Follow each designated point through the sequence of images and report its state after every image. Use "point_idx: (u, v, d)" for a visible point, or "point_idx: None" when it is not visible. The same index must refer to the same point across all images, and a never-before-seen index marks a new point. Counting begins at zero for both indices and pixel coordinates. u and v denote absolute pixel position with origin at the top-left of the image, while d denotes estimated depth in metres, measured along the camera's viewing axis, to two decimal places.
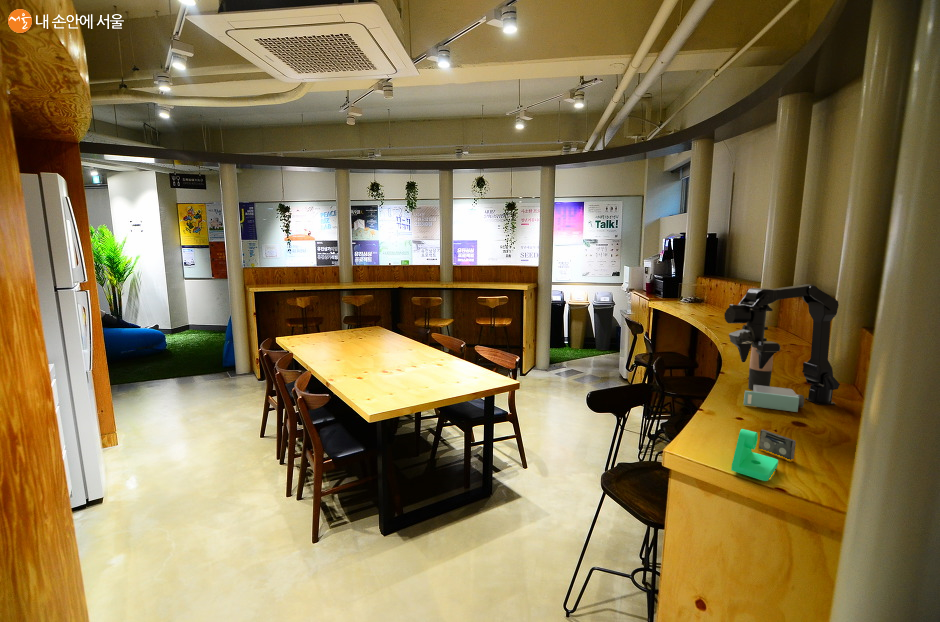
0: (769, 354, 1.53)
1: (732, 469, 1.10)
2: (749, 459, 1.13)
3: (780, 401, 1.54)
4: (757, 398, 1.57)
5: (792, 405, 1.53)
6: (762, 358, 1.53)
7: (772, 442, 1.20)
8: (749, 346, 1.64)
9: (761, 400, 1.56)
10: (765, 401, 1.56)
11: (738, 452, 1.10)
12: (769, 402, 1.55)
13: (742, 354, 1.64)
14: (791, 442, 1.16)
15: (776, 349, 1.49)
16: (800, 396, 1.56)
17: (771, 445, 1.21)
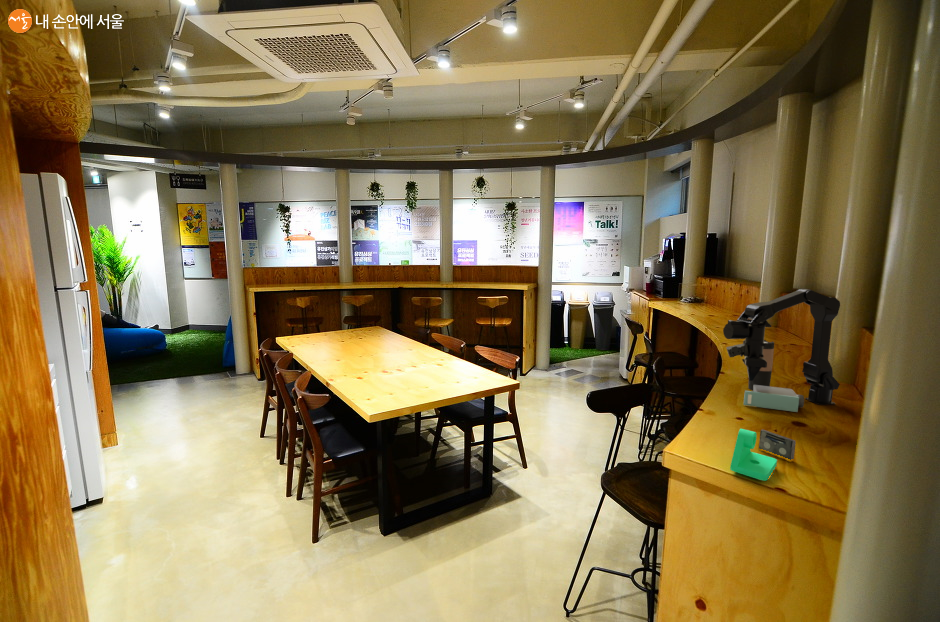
0: (757, 367, 1.58)
1: (731, 469, 1.10)
2: (748, 458, 1.13)
3: (780, 401, 1.54)
4: (757, 398, 1.57)
5: (792, 405, 1.53)
6: (750, 370, 1.60)
7: (772, 442, 1.20)
8: None
9: (761, 400, 1.56)
10: (765, 401, 1.56)
11: (737, 451, 1.10)
12: (769, 402, 1.55)
13: None
14: (791, 442, 1.16)
15: (761, 365, 1.51)
16: (800, 396, 1.56)
17: (771, 445, 1.21)
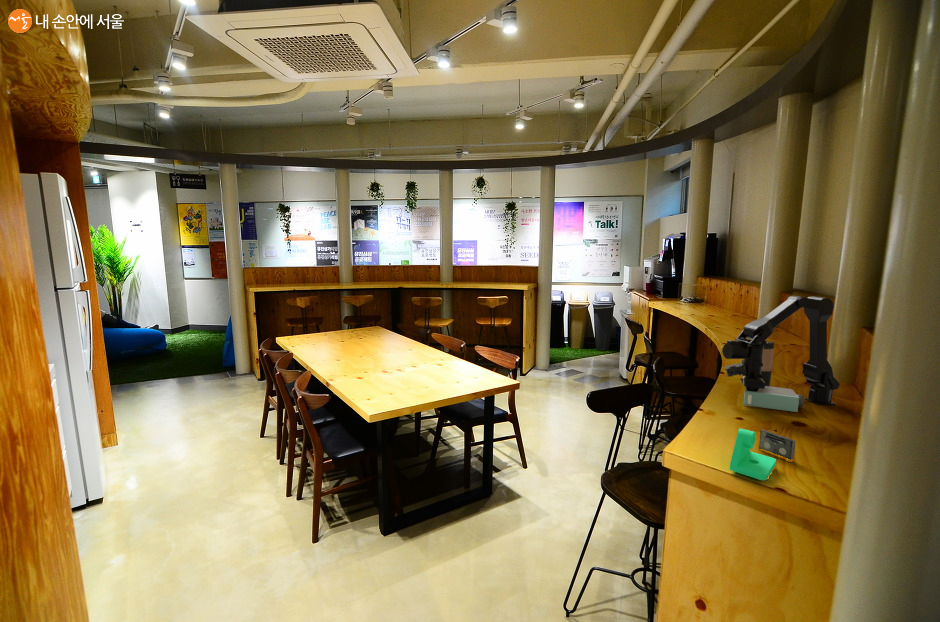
0: None
1: (730, 468, 1.10)
2: (747, 458, 1.13)
3: (780, 401, 1.54)
4: (757, 398, 1.57)
5: (792, 405, 1.53)
6: (748, 390, 1.59)
7: (772, 442, 1.20)
8: None
9: (761, 400, 1.56)
10: (765, 401, 1.56)
11: (736, 451, 1.11)
12: (769, 402, 1.55)
13: None
14: (791, 442, 1.16)
15: (759, 386, 1.51)
16: (800, 396, 1.56)
17: (771, 445, 1.21)
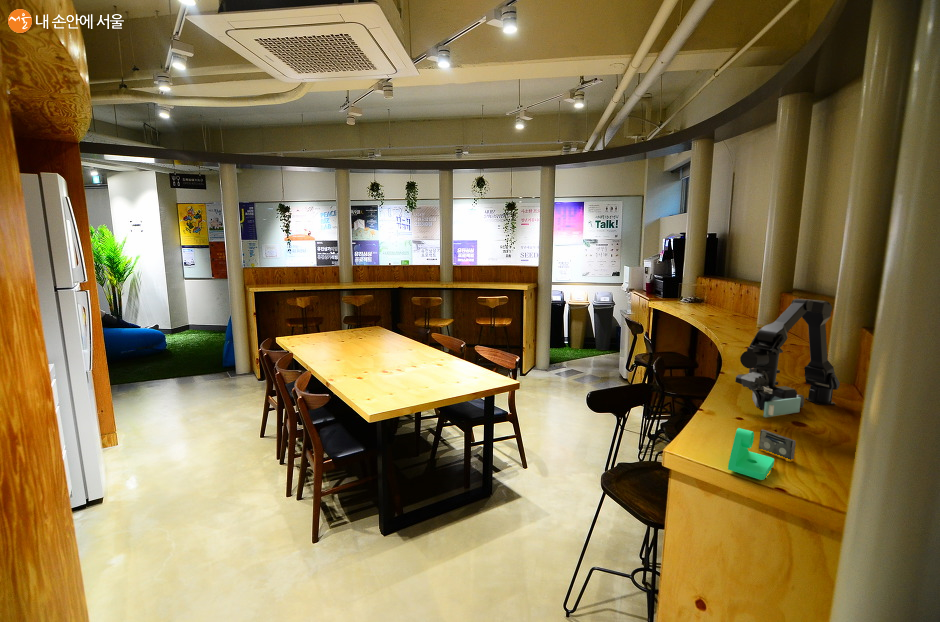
0: (771, 395, 1.48)
1: (729, 468, 1.10)
2: (745, 457, 1.14)
3: (789, 405, 1.50)
4: (775, 407, 1.48)
5: (796, 406, 1.51)
6: (765, 400, 1.48)
7: (772, 442, 1.20)
8: None
9: (777, 408, 1.48)
10: (780, 408, 1.49)
11: (734, 451, 1.11)
12: (782, 408, 1.49)
13: (760, 401, 1.50)
14: (791, 442, 1.16)
15: (794, 396, 1.41)
16: (800, 396, 1.56)
17: (771, 445, 1.21)
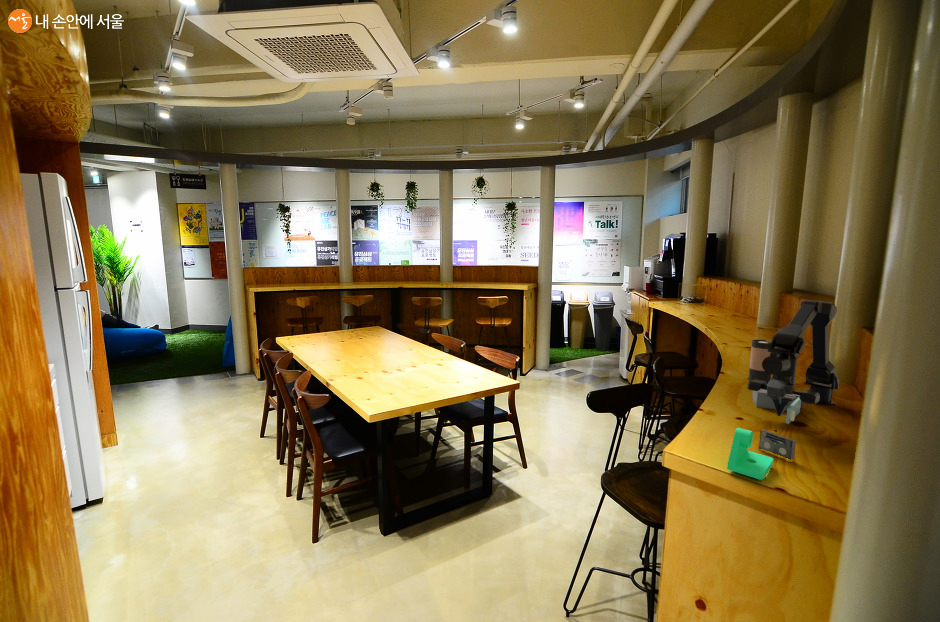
0: None
1: (728, 468, 1.11)
2: (744, 457, 1.14)
3: (797, 407, 1.48)
4: None
5: (799, 407, 1.51)
6: (785, 405, 1.43)
7: (772, 442, 1.20)
8: (781, 397, 1.46)
9: None
10: None
11: (734, 451, 1.11)
12: (794, 411, 1.46)
13: (779, 407, 1.44)
14: (791, 442, 1.16)
15: (818, 399, 1.38)
16: None
17: (771, 445, 1.21)
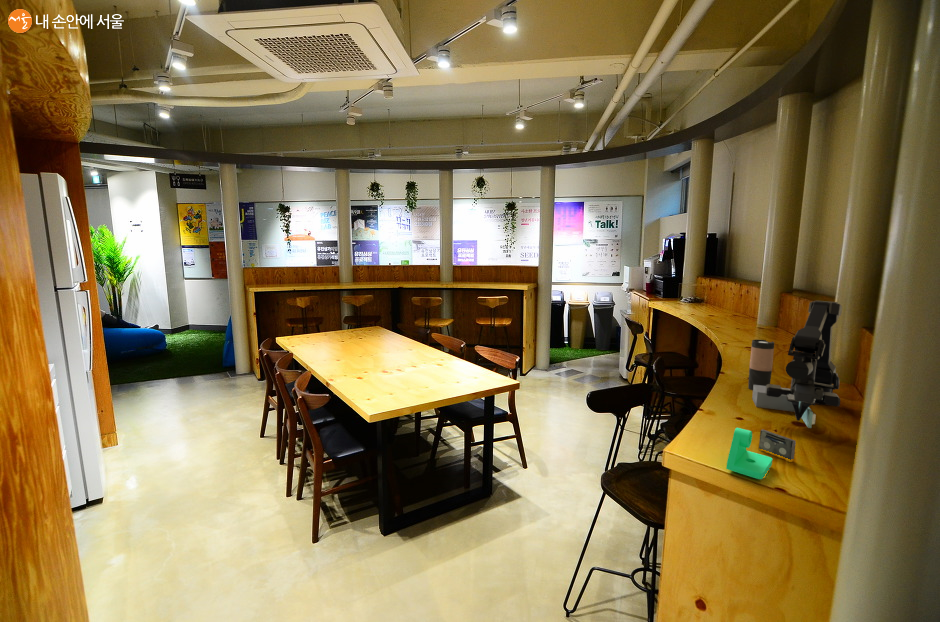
0: None
1: (727, 467, 1.11)
2: (743, 457, 1.14)
3: None
4: None
5: None
6: None
7: (772, 442, 1.20)
8: None
9: None
10: None
11: (733, 450, 1.11)
12: None
13: (798, 412, 1.40)
14: (791, 442, 1.16)
15: None
16: None
17: (771, 445, 1.21)
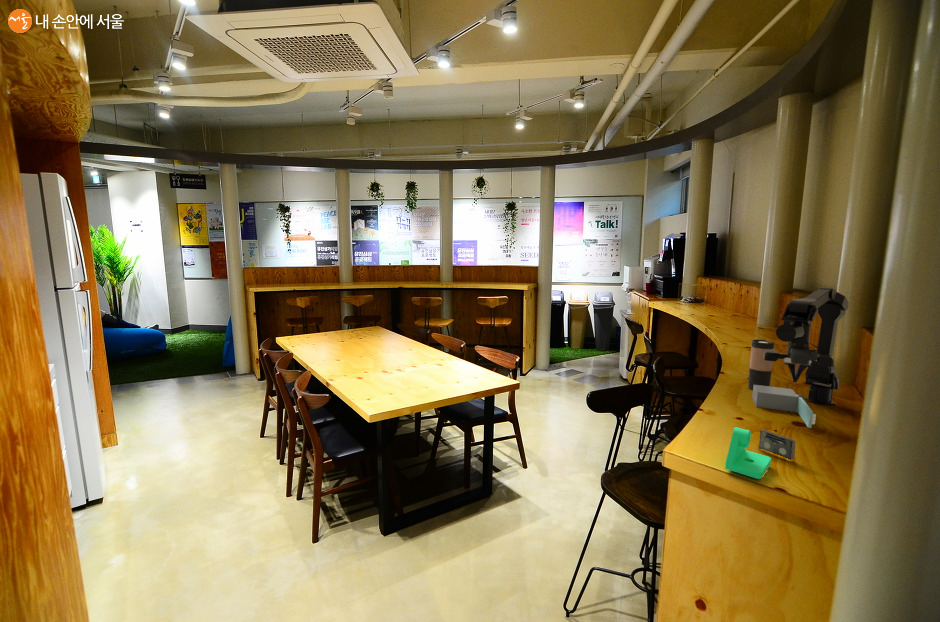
0: None
1: (726, 467, 1.11)
2: (742, 457, 1.14)
3: None
4: None
5: None
6: None
7: (772, 442, 1.20)
8: None
9: None
10: None
11: (732, 450, 1.11)
12: None
13: (795, 374, 1.49)
14: (791, 442, 1.16)
15: None
16: (800, 396, 1.56)
17: (771, 445, 1.21)
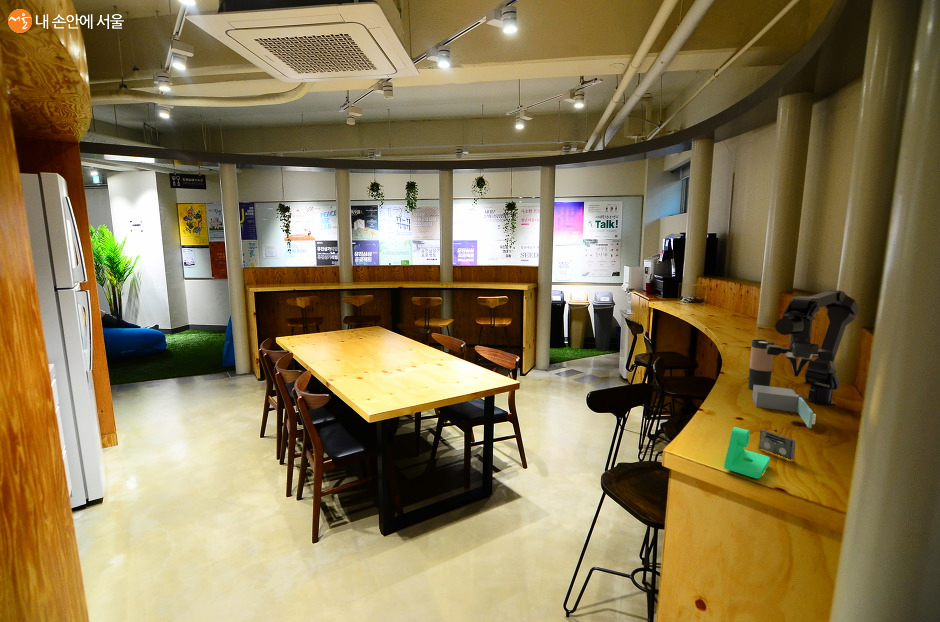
0: None
1: (725, 467, 1.11)
2: (741, 456, 1.14)
3: None
4: None
5: None
6: None
7: (772, 442, 1.20)
8: None
9: None
10: None
11: (730, 450, 1.11)
12: None
13: (796, 368, 1.54)
14: (791, 442, 1.16)
15: None
16: (800, 396, 1.56)
17: (771, 445, 1.21)
